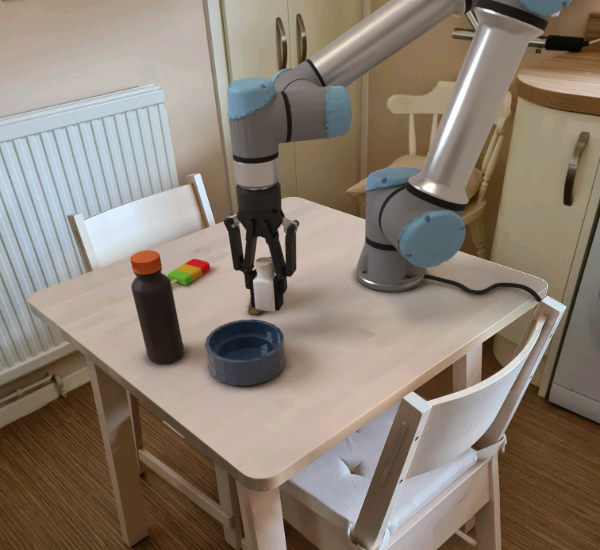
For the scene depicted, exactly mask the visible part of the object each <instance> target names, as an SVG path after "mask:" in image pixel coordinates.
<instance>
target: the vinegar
mask: <svg viewBox="0 0 600 550" xmlns="http://www.w3.org/2000/svg"><path fill="white" fill-rule="evenodd" d="M129 259H130V264H131V269H132V272H133V274H134V276H135V278H134V279H133V281H132V283H131V285H130V288H131V292H132V296H133V302H134V305H135V309H136V313H137V318H138V322H139V327H140V330H141V334H142V338H143V343H144V346H145V347H144V348H145V351H146V354H147V358H148V359H149V361H151V362H152V363H155V364H158V365H166V364H171V363H174V362H176V361H179V359H181V358H182V357H183V355H184V351H185V348H184V342H183V338H182V333H181V326H180V322H179V318H178V317H179V316H178V313H177V306H176V302H175V298H174V292H173V285H171V281H170V279H169V278H168V275H167V274H164V273H163V272H162V270H163V263H162V260H161V254H160V253H159V252H158V251H156V250H152V249H151V250H149V249H147V250H141V251H138V252H135V253H133V254H132V255H131V256H130V258H129Z"/></svg>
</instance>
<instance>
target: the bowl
mask: <svg viewBox="0 0 600 550" xmlns="http://www.w3.org/2000/svg"><path fill="white" fill-rule="evenodd" d="M204 347H205V354H206V359H207V366H208V370H209V373H210V374H211V375H212V376H213V378H215V379H217V381H220V382H222V383H225V384H228V385H233V386H253V385H257V384H261V383H264V382H267V381H269V380H271V379H273V378H274V377H276V376H277V375H278V374H279V373H281V372H282V370H283V368H284V367H285V365H286V350H285V349H286V348H285V336H284V333H283V331H282V330H281V328H279V327H278V326H277V325H275V323H271V322H269V321H266V320H260V319H253V318H252V319H238V320H233V321H228V322H226V323H223V324H221V325H219V326H217V327H216V328H215V329H213V330H212V331H210V333H209V334H208V336H206V339H205V343H204Z"/></svg>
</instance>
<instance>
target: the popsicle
mask: <svg viewBox="0 0 600 550" xmlns="http://www.w3.org/2000/svg"><path fill="white" fill-rule="evenodd" d="M210 270H211V265H210V263H209V261H205V260H203V259H198V258H192V259H190V260H187V261H186V262H184V263H183V264H181V265H180V266H178V267H176V268H175V269H173V270H172V271H170V272H168V273H167V277H168V278H169V279H170V281H171V286H173V285H174V284H176V283H177V284H179V285H182V286H183V285H184V286H188V285H189V284H191V283H193V282H194V281H196V280H198V279H199V278H201V277H202V276H203V275H205V274H207V273H208V272H209V271H210Z"/></svg>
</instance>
